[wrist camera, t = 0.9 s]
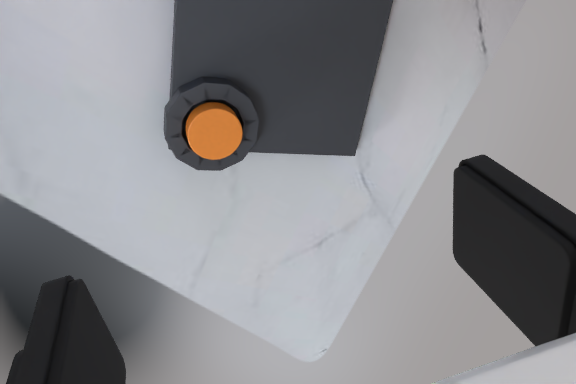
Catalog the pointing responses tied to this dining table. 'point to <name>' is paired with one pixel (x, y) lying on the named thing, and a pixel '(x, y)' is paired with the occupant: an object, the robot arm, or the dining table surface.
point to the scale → (275, 72)
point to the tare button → (213, 130)
